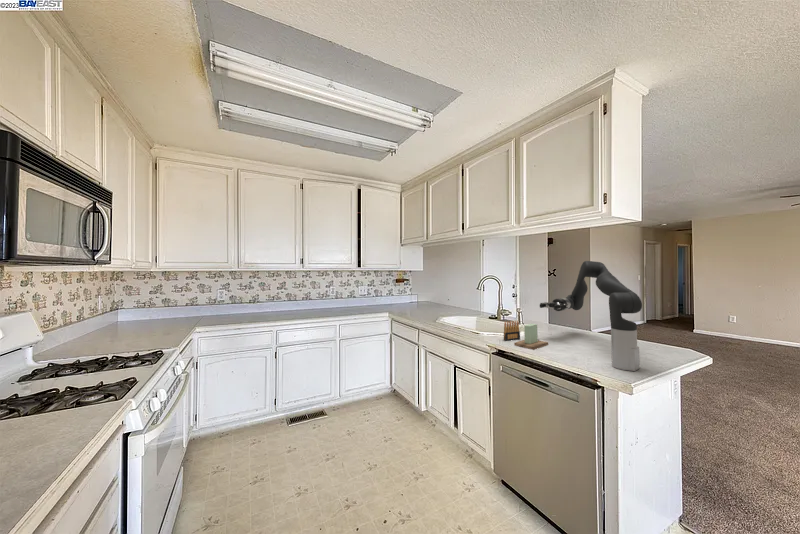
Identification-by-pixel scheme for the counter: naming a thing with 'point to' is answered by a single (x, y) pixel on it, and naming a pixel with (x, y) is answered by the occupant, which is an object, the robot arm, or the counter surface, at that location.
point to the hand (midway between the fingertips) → (547, 306)
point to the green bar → (530, 333)
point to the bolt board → (531, 346)
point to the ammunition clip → (511, 331)
